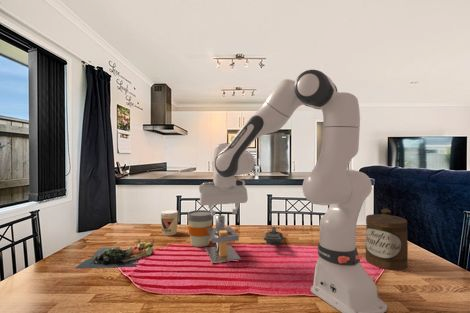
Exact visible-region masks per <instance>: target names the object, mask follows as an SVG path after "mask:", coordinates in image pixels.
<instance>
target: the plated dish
mask: <svg viewBox="0 0 470 313" xmlns="http://www.w3.org/2000/svg"><path fill="white" fill-rule="evenodd" d="M154 241H155V238H152V241H151V242H150V241H149V242H145V241H144V242H142V241H141V238H139V239H138V241H137V242H138V243H137V244H135V245H132V246H131V245H130V246H128V248H126V249H125V248H121V247H120V246H117V247H116V246H115V247H114V246H113V247H111V246H109V247H105V246H104V247H101V248H99V249H97V250H96V251H95V252H93V253H94V255H93V256H92V257H90V258H88V259H85V260H83V261H82V262H81V263H79V264H78V265H77V266H76V267H75V269H107V268H111V269H113V268H138V267H137V266H136V265H138V264H140V260H141V258H142V259H145V258H146V257H149V256H151V255H152V253H153V247H154ZM148 255H149V256H148ZM144 257H145V258H144Z"/></svg>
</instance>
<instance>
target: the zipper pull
mask: <svg viewBox="0 0 470 313" xmlns="http://www.w3.org/2000/svg"><path fill="white" fill-rule="evenodd" d="M283 238H284V234H283V233H282V232H279V231H277V227H276V226H272V227H271V231H267V232H265V236H264V238H263V240H264V241H265V243H266V244H267V245H269V246H280V245H281V243H282V241H283Z"/></svg>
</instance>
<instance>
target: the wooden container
mask: <svg viewBox="0 0 470 313" xmlns="http://www.w3.org/2000/svg"><path fill="white" fill-rule="evenodd" d="M380 212H381V214H380V213H379V214H377V213H374V214H367V215H366V216H365V224H366V226H365V227H366V229H365V231H366V232H365V260H366V261H367V263H369V264H371V265H372V264H373V266H375V267H377V266H378V268H380V267H381V269H384V268H385V270H393V271H402V270H405V269H407V268H408V260H409V259H408V256H409V254H408V253H409V252H408V251H409V249H408V247H409V246H408V220H407V219H405V218H403V217H400V216H396V215H391V213H392V210H390V209H389V208H387V207H386V208H381V210H380Z"/></svg>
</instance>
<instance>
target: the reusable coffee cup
mask: <svg viewBox="0 0 470 313" xmlns="http://www.w3.org/2000/svg"><path fill="white" fill-rule="evenodd" d="M213 219H214V215H213V216H212V215H211V210H207V209H206V210H205V209H202V210H199V209H198V210H191V211H188V212H187V222H188V224H187V229H188V230H187V231H188V235H189V237H190V238H189V239H190V245H191V246H193V247H207V246H208V245H210V241H211V239H210V237H209V236H208V234H207V229H208V228H213Z"/></svg>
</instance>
